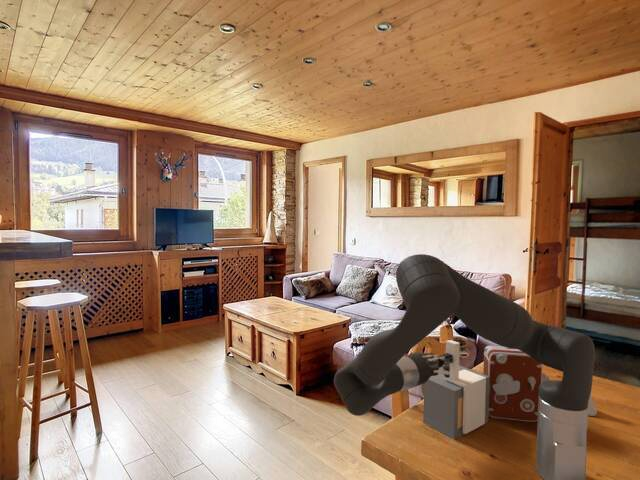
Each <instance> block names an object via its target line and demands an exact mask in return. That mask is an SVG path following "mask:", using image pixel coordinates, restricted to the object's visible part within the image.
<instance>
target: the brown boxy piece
mask: <svg viewBox="0 0 640 480" xmlns="http://www.w3.org/2000/svg"><path fill="white" fill-rule="evenodd" d="M482 374H484V375H487V376H489V377H490V382H489V414H488V417H491V418H494V419H500V420H501V419H502V420H510V421H521V422H530V423H531V422H533V423H534V422H538V400H539V386H540V384H541V383H542V382H545V381H549V380H550V378H549V375H546V374H545V373H543V364H541V363H540V362H538V361H536V360H535V359H533V358H532V357H530V356H529V355H527V354H526V353H524V352H522V351H521V350H519V349H512V348H507V347H503V346H500V345H497V344H496V345H495V344H494V345H493V344H492V345H491V344H489V345H487V346H485V347H484V352H483V373H482Z"/></svg>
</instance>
